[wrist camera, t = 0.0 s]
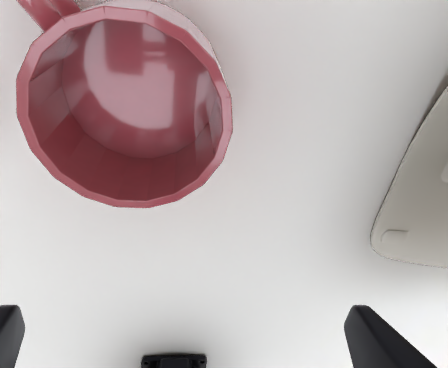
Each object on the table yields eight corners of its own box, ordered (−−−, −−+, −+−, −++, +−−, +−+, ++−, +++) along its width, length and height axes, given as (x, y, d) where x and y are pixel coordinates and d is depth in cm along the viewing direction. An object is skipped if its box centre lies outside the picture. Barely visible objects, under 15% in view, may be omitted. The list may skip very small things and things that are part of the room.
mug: (252, 107, 22) (269, 144, 17) (133, 185, 24) (120, 236, 19) (111, -112, 16) (79, -147, 11) (-30, 20, 18) (-107, 37, 13)
